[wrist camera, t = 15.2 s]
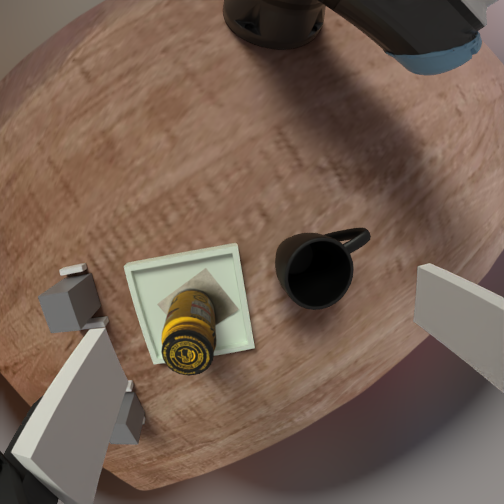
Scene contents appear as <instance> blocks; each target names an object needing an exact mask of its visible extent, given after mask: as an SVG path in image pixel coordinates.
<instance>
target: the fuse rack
mask: <svg viewBox="0 0 504 504" xmlns="http://www.w3.org/2000/svg"><path fill="white" fill-rule="evenodd" d="M85 269H87V266H86V263H83V264H78V265H73V266H68V267H64V268H62V269H60V270H59V271H60V275H66V274H72V273H77V272H82V271H84V270H85ZM38 298H39V301H40V304H41V307H42V310H43V313H44V316H45V318H46V321H47V324H48V326H49V329H50V332H51V333H57V332H68V331H78V330H82V329H91V328H100V327H105V326H106V325H107V323H108V322H109V320H108V317H107V316H105V317H97V318H91V317H92V316H93V315H94V314H95V312H96V311H97V310H98V309H99V308H100V307H101V304H100V301H99V298H98V295H97V291H96V288H95V284H94V281H93V277H92V273H90V274H84V275H79V276H74V277H69V278H64V279H63V280H61V281H60V282H58V283H57V284H55V285H54V286H52V287H51V288H49V289H48V290H47V291H45V292H44V293H42V294H41V295H39V296H38ZM128 382H129V383H128V386H127V389H126V391H125V394H124V397H123V400H122V403H121V406H120V409H119V412H118V415H117V418H116V422H115V425H114V428H113V431H112V434H111V438H110V441H109V442H110V443H111V444H138V443H139V438H140V433H141V428H142V424H144V423H145V417H144V414H145V412H144V410H143V408H142V406H141V404H140V402H139V400H138V398H137V396H136V394H135V392H128V391H132V388H133V385H134V383H133V381H132V380H129V381H128Z"/></svg>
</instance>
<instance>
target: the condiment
mask: <svg viewBox="0 0 504 504" xmlns="http://www.w3.org/2000/svg"><path fill="white" fill-rule="evenodd" d="M157 305H158V306H159V307H160V308H161V309H162V311H163V312H164V313H165V314H166V315H167V317H166V320H165V324H164V328H163V331H162V337H161V341H162V351H161V352H162V357H163V360H164V362H165V363H166V365H167V366H168V367H169V368H170V369H171V370H172V371H175V372H177V373H179V374H183V375H196V374H200V373H202V372H203V371H205V370H206V369H207V368H208V367H209V366H210V365H211V363H212V361H213V357H214V350H215V348H216V341H217V339H216V326H215V325H217V324H219V323H220V322H221V321H223V320H224V319H226V318H227V317H229V316H230V315H232V314H233V313H235V312H236V311H238V310H239V309H238V307H237V306H236V305H235V304H234V302H233V301H232V300H231V299H230V297H229V296H228V295H227V294H226V292H225V291H224V290H223V289H222V287H221V286H220V285H219V284H218V282H217V281H216V280H215V279H214V277H213V276H212V275H211V274H210V272H209V271H208V270H207V269H206V268H205V269H204V270H202V271H201V272H200V273H198V274H197V275H196V276H194V277H193V278H192V279H190V280H189V281H188V282H186V283H185V284H183V285H182V286H181V287H179V288H178V289H177V290H175V291H174V292H173V293H171V294H170V295H168V296H167V297H166V298H165V299H163V300H162V301H161V302H159V303H158V304H157Z"/></svg>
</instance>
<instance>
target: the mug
mask: <svg viewBox="0 0 504 504" xmlns="http://www.w3.org/2000/svg"><path fill="white" fill-rule="evenodd" d="M370 237H371V236H370V233H369V231H368V230H367V229H366V228H353V229H347V230H342V231H337V232H333V233H328V234H325V235H321V234H318V233H301V234H297V235H294V236H292V237H289V238H287V239H286V240H284V241H283V242H282V243H281V244H280V245H279V247H278V249H277V252H276V259H275V268H276V273H277V277H278V279H279V282H280V284H281V286H282V288H283V289H284V290H285V291H286V293H287V294H288V295H289V297H290V298H291V299H292V300H293V301H294V302H295V303H296V304H298V305H299V306H301V307H304V308H306V309H313V310H316V309H323V308H326V307H329V306H331V305H333V304H335V303H336V302H337V301H339V300H340V299H341V298H342V297H343V296H344V294H345V293H346V292H347V290H348V288H349V286H350V284H351V281H352V278H353V261H352V258H351V255H350V253H352V252H354V251H356V250H357V249H359V248H360V247H362V246H363V245H365V244H366V243H367V242H368V241H369V240H370ZM350 239H351V240H350ZM344 240H350V241H348V242H346V243H344V244H342V243H341V242H339V241H344Z"/></svg>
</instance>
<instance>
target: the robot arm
mask: <svg viewBox="0 0 504 504" xmlns="http://www.w3.org/2000/svg"><path fill="white" fill-rule="evenodd" d="M497 1H498V0H224V5H223V16H224V19H225V21H226V23H227V25H228V26H229V27H230V28H231V30H232V31H233V32H235V33H236V34H237V35H238V36H240V37H241V38H243V39H244V40H246V41H248V42H250V43H253V44H255V45H258V46H262V47H266V48H271V49H292V48H297V47H300V46H303V45H305V44H307V43H309V42H310V41H311V40H312V39H313V38H314V37H315V36H316V35H317V33H318V32H319V31H320V29H321V28H322V25H323V22H324V15H325V6H327V7H329V8H330V9H332V10H333V11H334V12H336V13H337V14H339V15H340V16H342V17H343V18H344V19H346V20H347V21H349V22H350V23H351V24H353V25H354V26H355V27H357V28H358V29H359V30H361V31H362V32H363V33H364V34H366V35H367V36H368V37H369V38H371V39H372V40H373V41H374V42H375V43H376V44H378V45H379V46H380V47H381V48H382V49H383V50H384V52H385V53H386V54H388V55H389V56H391V57H393V58H395V59H396V60H397V61H398V62H399V63H400V64H401V65H403V66H404V67H405V68H406V69H407V70H409V71H410V72H412V73H415V74H419V75H436V74H441V73H444V72H447V71H450V70H452V69H455V68H457V67H459V66H461V65H463V64H464V63H466V62H467V61H469V60H470V59H471V58H472V55H473V54H476V53H477V52H478V51H479V50H480V48H481V44H482V40H481V37H480V33H479V32H478V30H480V29H481V28H483V27H484V26H486V25H487V19H486V10H487V7H488V6H490V5H491V4H493V3H495V2H497ZM413 321H414V322H415V323H416V324H418V325H419V326H420V327H422V328H423V329H424V330H426V331H427V332H428V333H429V334H431V335H432V336H433V337H435V338H436V339H437V340H439V341H440V342H441V343H442V344H444V345H445V346H446V347H447V348H449V349H450V350H451V351H453V352H454V353H455V354H456V355H458V356H459V357H460V358H461V359H463V360H464V361H465V362H466V363H468V364H469V365H470V366H471V367H473V368H474V369H475V370H476V371H478V372H479V373H480V374H481V375H482V376H484V377H485V378H486V379H487V380H488V381H490V382H491V383H492V384H493V385H494V386H496V387H497V388H498V389H499V390H500V391H502V392H503V393H504V298H503V297H501V296H499V295H497V294H495V293H493V292H491V291H489V290H487V289H485V288H483V287H480V286H479V285H477V284H475V283H472V282H470V281H468V280H466V279H464V278H462V277H460V276H457V275H455V274H453V273H451V272H449V271H446V270H444V269H442V268H440V267H437V266H435V265H433V264H430V263H428V264H425V265H421V266H418V269H417V287H416V300H415V311H414V320H413ZM128 383H129V382H128V380H127V378H126V376H125V374H124V371H123V369H122V367H121V365H120V362H119V360H118V358H117V356H116V353H115V351H114V348H113V346H112V344H111V341H110V339H109V336H108V333H107V331H106V328H98V329H90V330H89V331H88V332H87V334H86V335H85V336H84V338H83V339H82V340H81V342H80V343H79V344H78V346H77V347H76V349H75V350H74V351H73V353H72V354H71V356H70V357H69V359H68V360H67V361H66V363H65V364H64V366H63V367H62V369H61V370H60V372H59V373H58V375H57V376H56V378H55V379H54V381H53V382H52V384H51V385H50V387H49V388H48V390H47V391H46V393H45V394H44V396H42V397H41V398H40V399H39V400H37V401H36V402H35V403H34V404H33V405H32V407H31V409H30V410H29V412H28V413H27V417H25V418H24V420H23V421H22V425H20V426H19V428H18V430H17V432H16V433H15V435H14V437H13V439H12V440H11V442H10V444H9V446H8V448H7V449H6V451H5V453H4V455H3V454H2V453H1V451H0V504H57V502H58V499H60V500H61V501H62V502H63V503H64V504H93V500H94V496H95V492H96V488H97V484H98V480H99V476H100V473H101V469H102V465H103V462H104V458H105V455H106V451H107V448H108V444H109V441H110V438H111V434H112V431H113V428H114V425H115V422H116V418H117V415H118V412H119V409H120V406H121V403H122V400H123V397H124V394H125V391H126V389H127V386H128Z"/></svg>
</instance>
